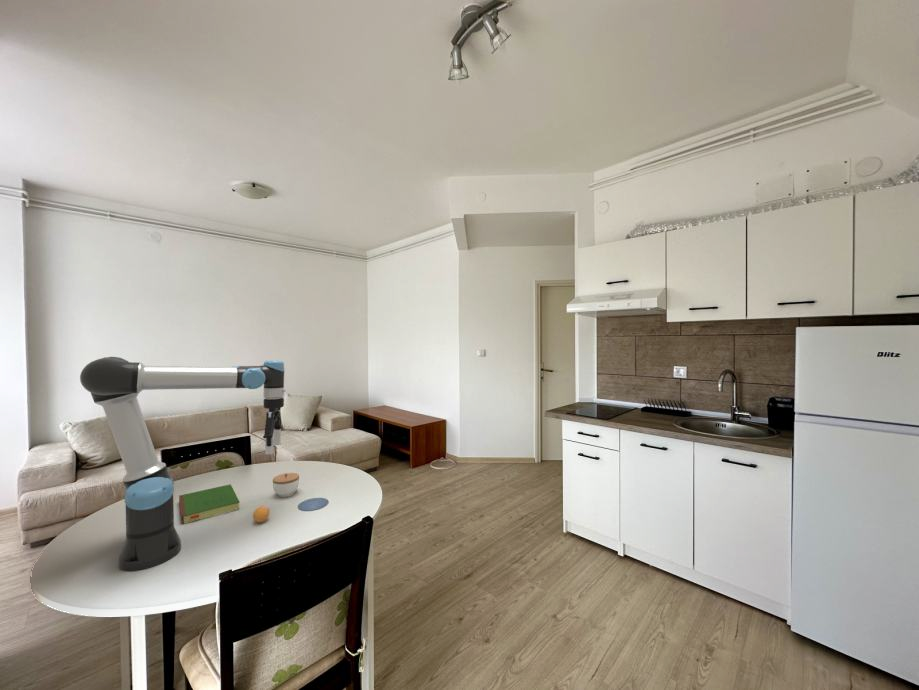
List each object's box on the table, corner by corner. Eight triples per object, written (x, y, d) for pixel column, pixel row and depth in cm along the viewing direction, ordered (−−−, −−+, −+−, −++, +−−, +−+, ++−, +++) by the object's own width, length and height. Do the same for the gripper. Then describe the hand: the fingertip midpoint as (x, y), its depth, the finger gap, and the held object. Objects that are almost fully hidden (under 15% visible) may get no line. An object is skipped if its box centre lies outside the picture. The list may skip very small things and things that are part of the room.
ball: (255, 526, 135) (255, 511, 134) (251, 521, 138) (250, 507, 138) (271, 521, 138) (271, 507, 138) (266, 516, 142) (266, 502, 142)
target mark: (304, 514, 144) (304, 513, 144) (293, 504, 153) (293, 504, 153) (333, 504, 153) (333, 503, 153) (320, 495, 161) (320, 495, 161)
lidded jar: (304, 489, 168) (303, 469, 168) (291, 499, 157) (290, 478, 157) (282, 489, 169) (281, 468, 169) (267, 499, 158) (267, 477, 158)
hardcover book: (179, 504, 155) (179, 495, 155) (230, 492, 167) (230, 484, 167) (182, 527, 136) (181, 517, 136) (240, 511, 148) (239, 502, 148)
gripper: (277, 402, 140) (276, 457, 139) (289, 393, 164) (289, 441, 164) (255, 402, 138) (254, 459, 138) (271, 394, 162) (270, 442, 162)
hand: (273, 449), depth 151 cm, fingers open, 13 cm apart
